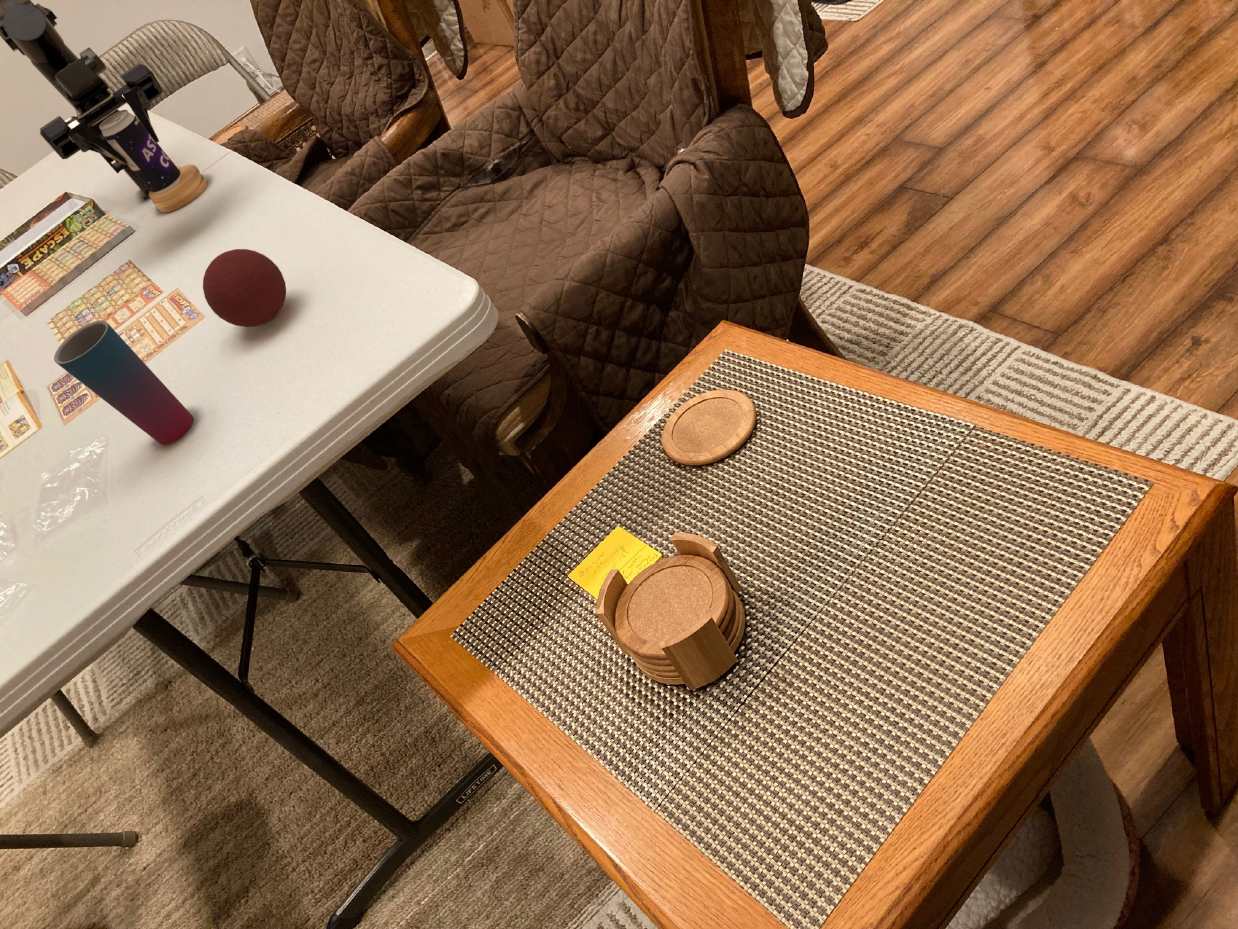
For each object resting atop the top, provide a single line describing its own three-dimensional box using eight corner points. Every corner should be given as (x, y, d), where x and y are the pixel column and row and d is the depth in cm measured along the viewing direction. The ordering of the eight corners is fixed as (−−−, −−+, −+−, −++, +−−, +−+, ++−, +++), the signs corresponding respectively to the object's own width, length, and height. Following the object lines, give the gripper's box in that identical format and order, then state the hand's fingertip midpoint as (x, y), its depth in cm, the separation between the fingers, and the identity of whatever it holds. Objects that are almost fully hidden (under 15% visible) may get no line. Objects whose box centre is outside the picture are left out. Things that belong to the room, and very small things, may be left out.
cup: (160, 418, 109) (66, 332, 99) (205, 401, 108) (115, 312, 98) (145, 457, 105) (44, 371, 94) (192, 440, 103) (96, 350, 93)
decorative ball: (231, 353, 114) (178, 295, 107) (241, 309, 121) (192, 252, 114) (298, 324, 112) (249, 263, 105) (304, 281, 119) (258, 222, 112)
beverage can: (174, 192, 137) (117, 124, 128) (147, 199, 139) (90, 133, 130) (190, 171, 140) (136, 104, 132) (163, 179, 142) (108, 113, 134)
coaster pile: (157, 201, 161) (145, 187, 159) (203, 172, 162) (192, 158, 160) (162, 219, 154) (150, 205, 152) (211, 189, 155) (199, 174, 153)
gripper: (-9, 80, 123) (69, 162, 124) (102, 9, 128) (177, 89, 129) (25, 121, 134) (97, 196, 135) (127, 54, 139) (196, 127, 139)
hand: (141, 151), depth 134 cm, fingers closed on beverage can, 5 cm apart
